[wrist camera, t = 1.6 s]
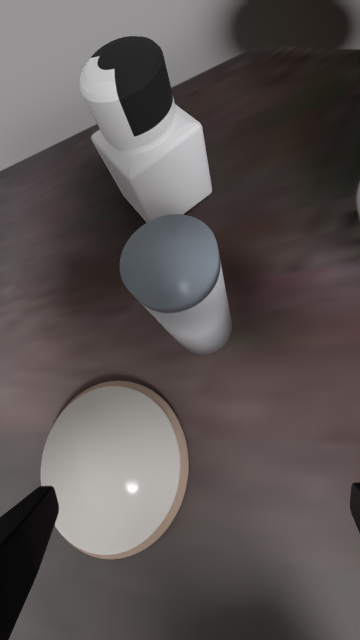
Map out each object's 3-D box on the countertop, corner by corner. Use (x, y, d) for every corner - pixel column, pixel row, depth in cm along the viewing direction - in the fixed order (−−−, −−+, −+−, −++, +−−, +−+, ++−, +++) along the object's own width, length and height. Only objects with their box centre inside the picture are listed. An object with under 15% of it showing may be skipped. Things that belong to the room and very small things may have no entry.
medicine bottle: (174, 158, 30) (132, 8, 19) (214, 193, 27) (190, 41, 16) (123, 196, 30) (50, 69, 19) (157, 235, 27) (94, 113, 16)
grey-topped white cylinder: (244, 329, 22) (240, 256, 12) (197, 366, 22) (154, 325, 12) (207, 290, 24) (177, 198, 14) (165, 323, 24) (102, 256, 14)
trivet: (223, 485, 19) (221, 489, 18) (86, 596, 19) (76, 607, 17) (134, 352, 23) (129, 349, 22) (25, 439, 23) (13, 441, 22)
